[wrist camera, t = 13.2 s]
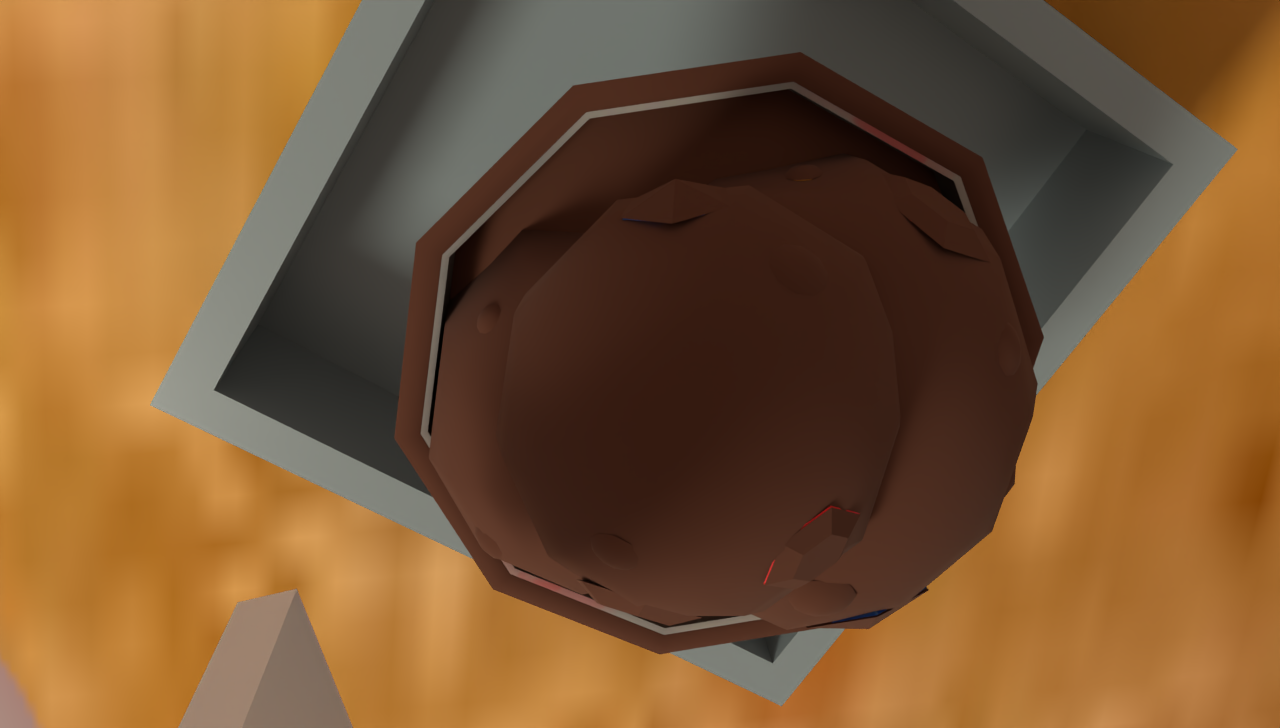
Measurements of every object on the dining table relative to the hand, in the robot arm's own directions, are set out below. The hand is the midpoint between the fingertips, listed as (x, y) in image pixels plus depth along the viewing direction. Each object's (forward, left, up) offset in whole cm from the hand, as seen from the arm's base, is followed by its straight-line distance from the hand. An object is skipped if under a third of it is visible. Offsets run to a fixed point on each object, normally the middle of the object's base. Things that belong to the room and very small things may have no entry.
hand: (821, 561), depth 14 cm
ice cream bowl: (+1, 0, -15) cm, 15 cm away
